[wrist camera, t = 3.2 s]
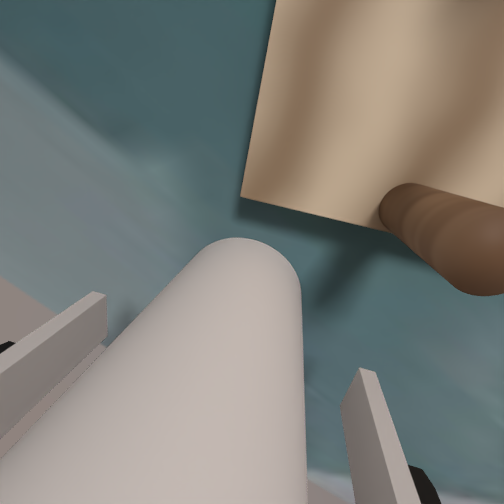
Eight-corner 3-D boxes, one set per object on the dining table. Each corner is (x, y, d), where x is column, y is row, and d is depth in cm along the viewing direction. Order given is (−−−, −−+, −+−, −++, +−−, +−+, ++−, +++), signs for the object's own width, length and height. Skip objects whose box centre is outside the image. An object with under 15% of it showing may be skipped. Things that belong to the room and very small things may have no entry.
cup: (285, 351, 19) (249, 1015, 4) (182, 324, 20) (-145, 823, 5) (315, 253, 16) (539, 1476, 1) (190, 225, 17) (-629, 804, 2)
